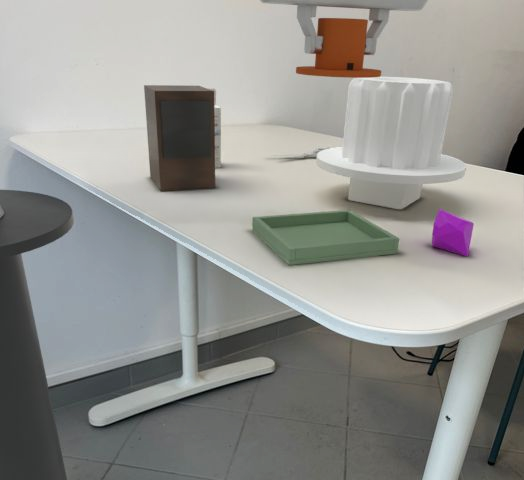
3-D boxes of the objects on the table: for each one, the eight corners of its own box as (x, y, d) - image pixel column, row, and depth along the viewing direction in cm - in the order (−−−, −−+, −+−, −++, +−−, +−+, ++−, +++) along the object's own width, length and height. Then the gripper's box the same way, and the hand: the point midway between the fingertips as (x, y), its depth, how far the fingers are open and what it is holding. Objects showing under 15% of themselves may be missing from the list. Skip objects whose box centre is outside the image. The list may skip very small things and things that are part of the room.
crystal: (427, 251, 72) (434, 217, 70) (432, 239, 77) (439, 207, 74) (467, 257, 71) (475, 223, 68) (470, 245, 75) (478, 212, 73)
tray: (288, 265, 66) (289, 249, 65) (252, 231, 77) (252, 216, 76) (397, 253, 71) (399, 238, 70) (348, 223, 82) (349, 209, 81)
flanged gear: (431, 230, 80) (459, 90, 71) (287, 201, 92) (294, 77, 82) (473, 196, 99) (500, 82, 89) (349, 176, 110) (360, 72, 100)
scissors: (355, 154, 126) (284, 160, 116) (355, 158, 126) (284, 164, 117) (328, 147, 133) (259, 151, 124) (328, 150, 134) (259, 155, 125)
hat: (318, 77, 58) (322, 16, 55) (282, 71, 66) (285, 17, 63) (397, 78, 61) (405, 20, 58) (354, 72, 69) (359, 21, 66)
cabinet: (161, 191, 94) (154, 90, 86) (150, 178, 103) (143, 85, 94) (215, 188, 97) (214, 91, 89) (201, 175, 106) (199, 85, 98)
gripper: (420, -83, 61) (400, 55, 68) (251, -104, 55) (249, 51, 62) (455, -93, 56) (430, 57, 63) (274, -117, 50) (268, 53, 57)
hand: (339, 54), depth 62 cm, fingers closed on hat, 5 cm apart
